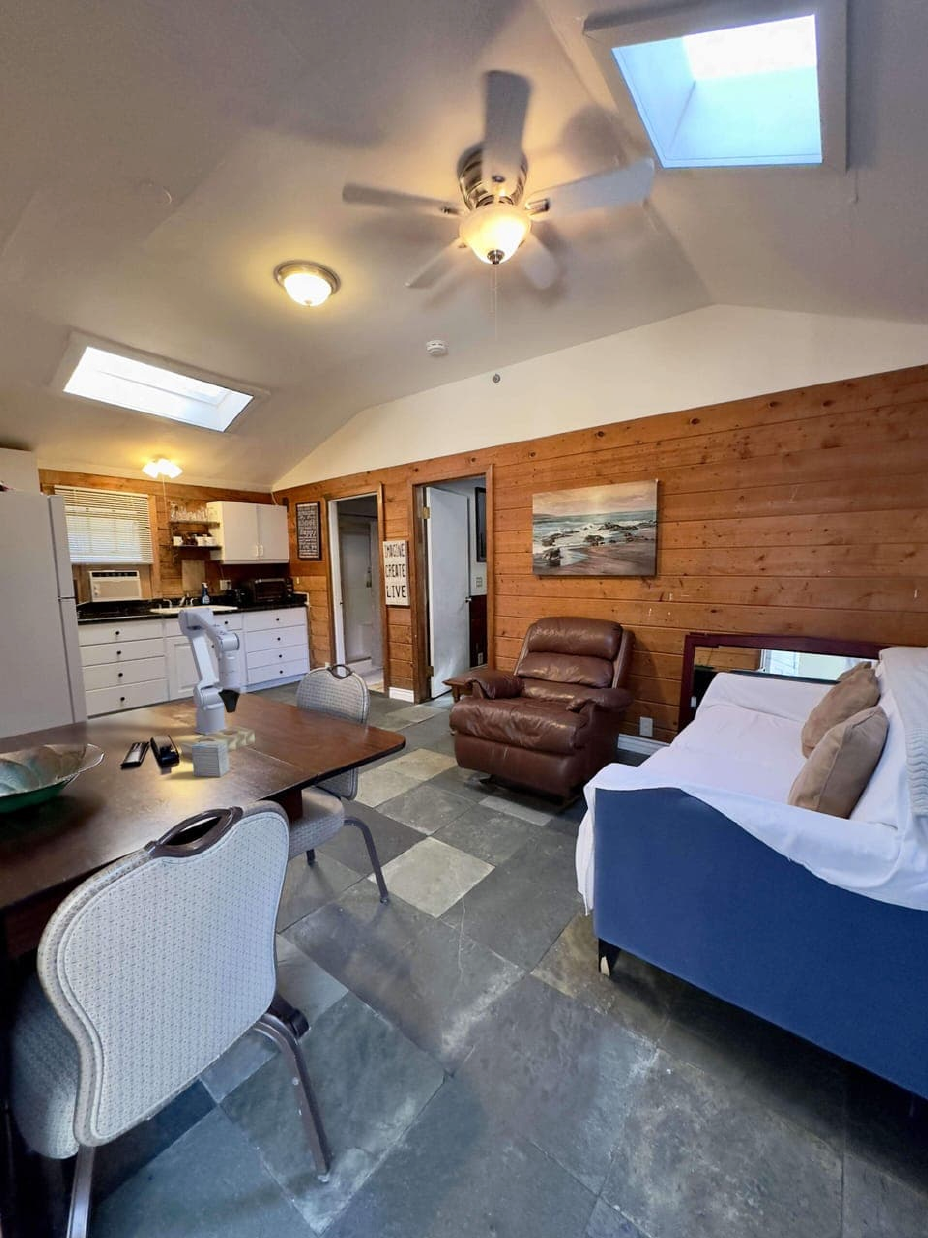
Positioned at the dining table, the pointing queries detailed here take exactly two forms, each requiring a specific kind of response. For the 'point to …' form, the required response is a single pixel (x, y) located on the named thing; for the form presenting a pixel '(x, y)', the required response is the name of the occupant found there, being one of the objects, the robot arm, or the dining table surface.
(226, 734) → the far peg
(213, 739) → the near peg
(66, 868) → the dining table surface
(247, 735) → the socket board
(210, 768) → the medicine box
